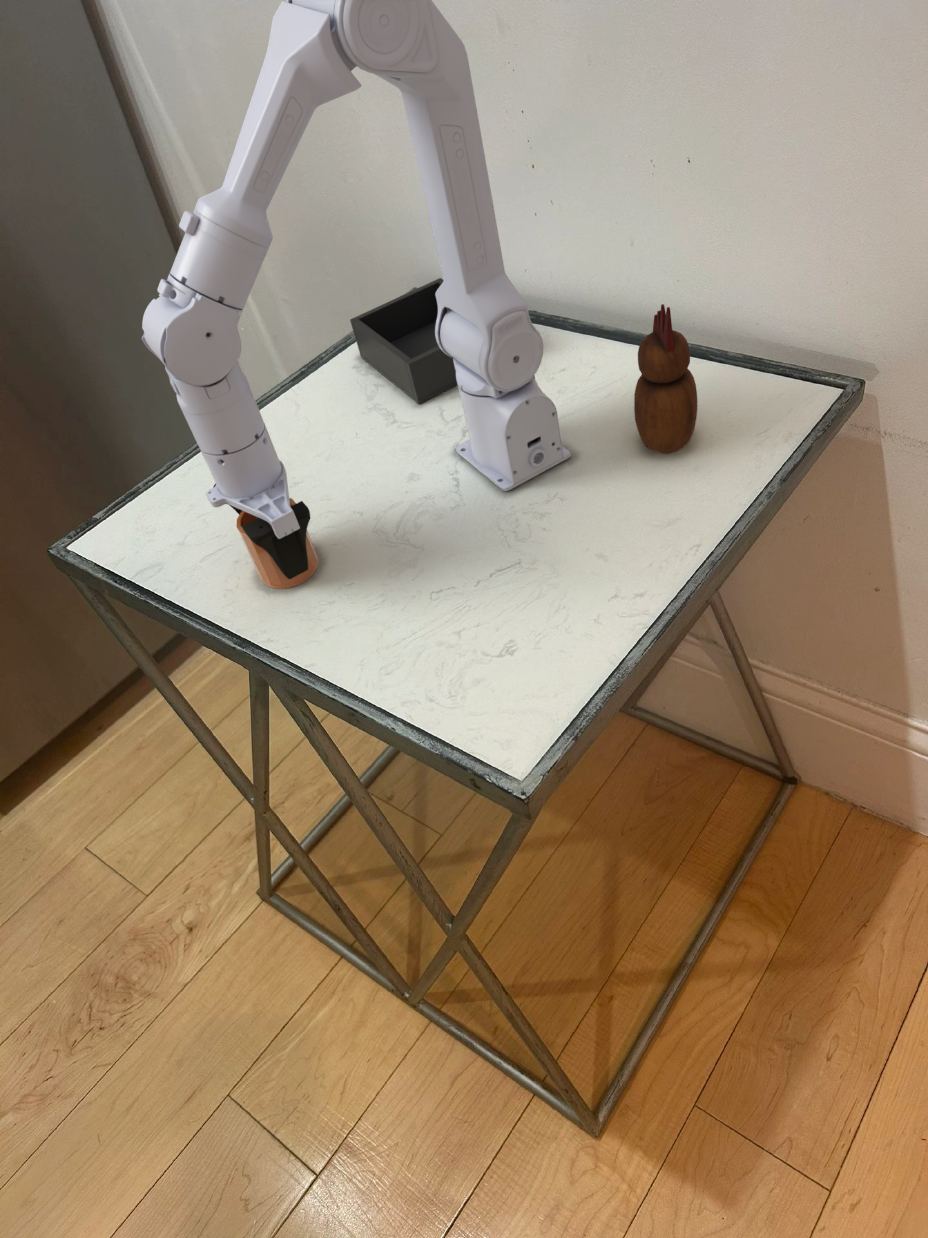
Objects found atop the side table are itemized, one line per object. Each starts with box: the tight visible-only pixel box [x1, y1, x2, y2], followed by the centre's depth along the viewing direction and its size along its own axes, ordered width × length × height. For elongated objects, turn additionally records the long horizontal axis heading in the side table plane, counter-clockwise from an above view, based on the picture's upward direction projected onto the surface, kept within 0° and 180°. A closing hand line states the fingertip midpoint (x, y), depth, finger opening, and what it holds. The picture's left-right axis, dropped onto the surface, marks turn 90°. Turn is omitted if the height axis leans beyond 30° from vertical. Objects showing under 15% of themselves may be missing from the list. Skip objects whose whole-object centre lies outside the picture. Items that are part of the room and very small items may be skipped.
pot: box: [236, 497, 319, 590], centre depth 86 cm, size 6×6×6 cm
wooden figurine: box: [633, 303, 698, 454], centre depth 86 cm, size 7×6×15 cm
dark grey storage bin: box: [349, 277, 458, 405], centre depth 109 cm, size 15×13×5 cm
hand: (283, 555), depth 87 cm, fingers closed on pot, 5 cm apart
